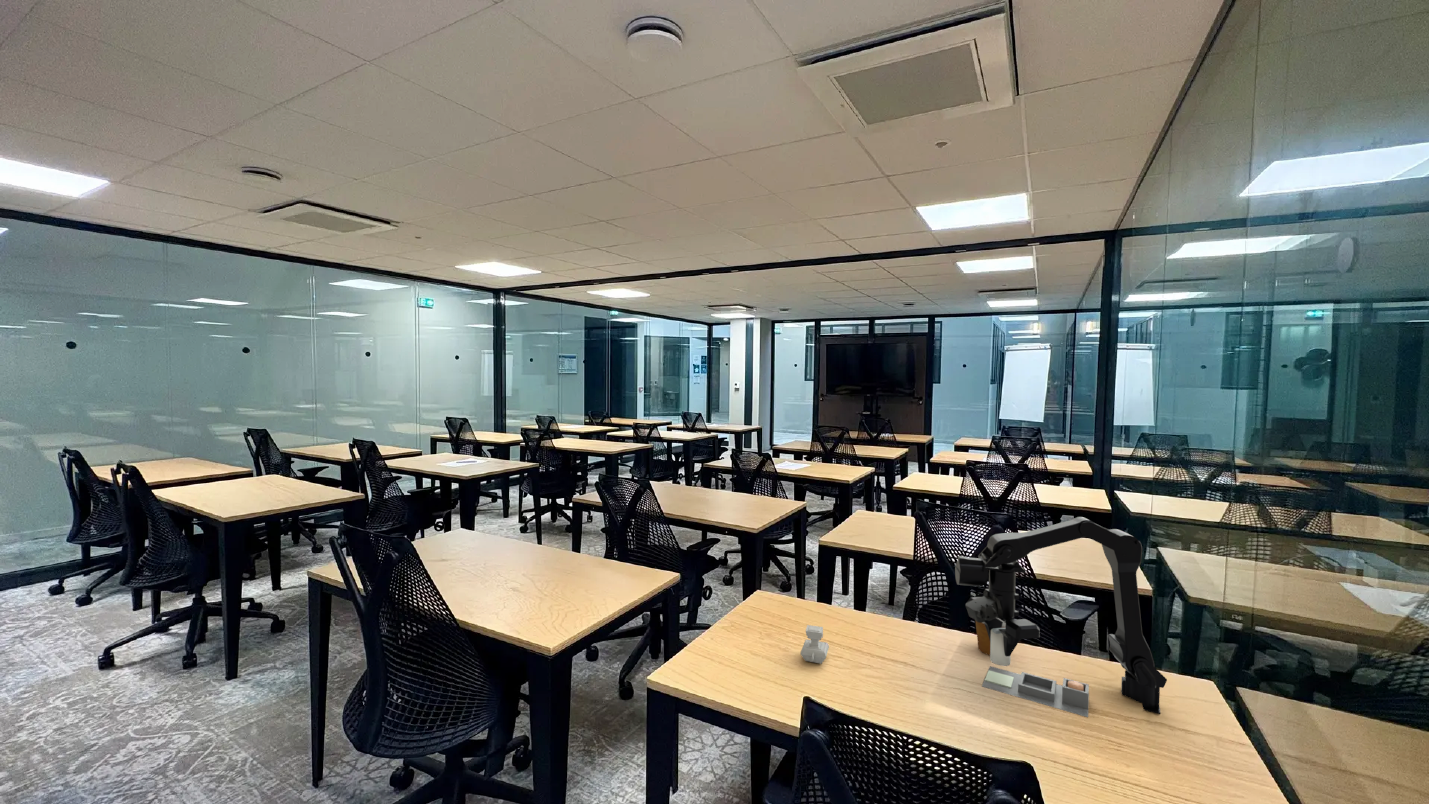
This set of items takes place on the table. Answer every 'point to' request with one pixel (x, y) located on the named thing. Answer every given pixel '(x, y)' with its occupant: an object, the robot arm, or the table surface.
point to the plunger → (1075, 685)
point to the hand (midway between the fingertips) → (1000, 651)
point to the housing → (1039, 690)
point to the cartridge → (998, 648)
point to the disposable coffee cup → (984, 637)
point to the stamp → (814, 645)
